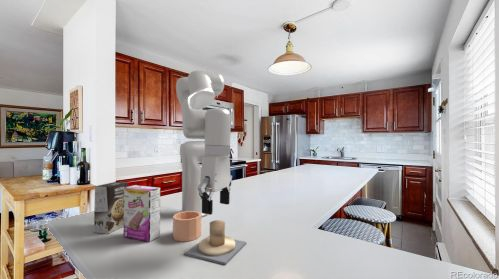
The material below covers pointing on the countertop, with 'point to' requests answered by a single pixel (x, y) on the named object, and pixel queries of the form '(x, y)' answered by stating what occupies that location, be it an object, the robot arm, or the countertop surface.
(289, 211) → the countertop surface
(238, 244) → the mat
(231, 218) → the countertop surface
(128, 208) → the candy bar box
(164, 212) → the countertop surface
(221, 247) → the lid
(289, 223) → the countertop surface
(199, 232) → the bowl
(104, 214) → the coffee box
